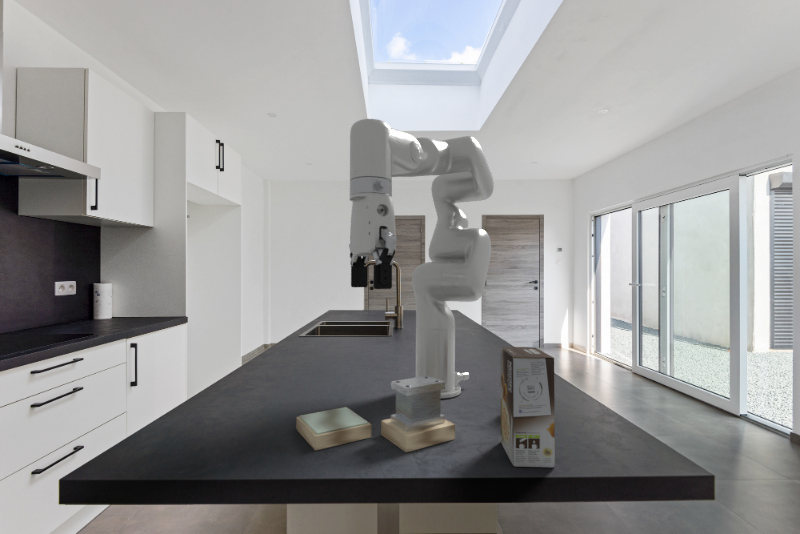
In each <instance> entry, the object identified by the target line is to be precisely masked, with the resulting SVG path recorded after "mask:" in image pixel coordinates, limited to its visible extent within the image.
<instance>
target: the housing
mask: <svg viewBox="0 0 800 534" xmlns="http://www.w3.org/2000/svg"><path fill="white" fill-rule="evenodd" d="M390 389H392V390H393V391H395V414H390V418H391V423H393V424H395V425H396V426H398V427H399V428H401V429H402V430H404V431H406V432H408V431H412V430H416V429H421V428H425V427H429V426H433V425H437V424H441V423H445V420H446V415H445V414H443V413H441V407H442V406H441V399H442V398H441V390H442V389H445V382H444V381H441V380H439V379H436V378H433V377H430V376H423V377H416V376H415V377H412V378H411V377H410V378H405V379H404V378H403V379H398V380H393V381H390Z"/></svg>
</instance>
